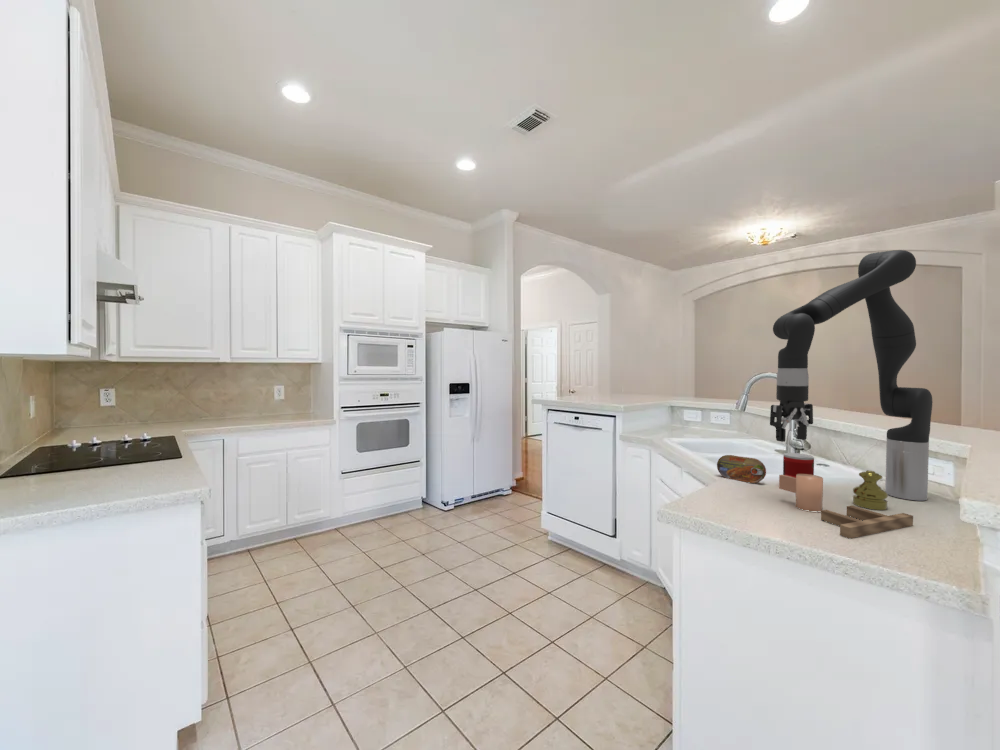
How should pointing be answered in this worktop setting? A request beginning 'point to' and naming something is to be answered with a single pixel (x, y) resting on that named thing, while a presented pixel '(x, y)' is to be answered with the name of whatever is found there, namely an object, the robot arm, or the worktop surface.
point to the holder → (865, 521)
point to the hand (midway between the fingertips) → (791, 440)
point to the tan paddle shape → (804, 490)
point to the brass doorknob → (870, 492)
